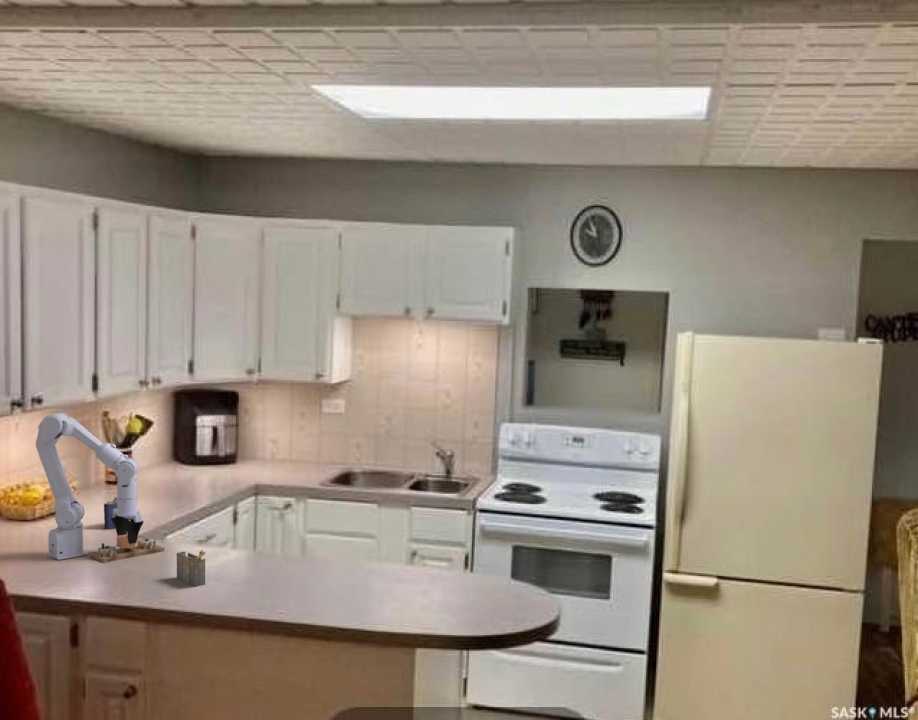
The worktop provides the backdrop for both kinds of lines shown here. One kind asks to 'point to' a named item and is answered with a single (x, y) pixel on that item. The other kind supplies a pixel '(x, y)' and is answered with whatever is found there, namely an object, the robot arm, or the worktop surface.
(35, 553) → the worktop surface
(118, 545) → the gear
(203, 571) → the grey-brown boxy piece
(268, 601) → the worktop surface
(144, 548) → the gear board
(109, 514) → the flask
